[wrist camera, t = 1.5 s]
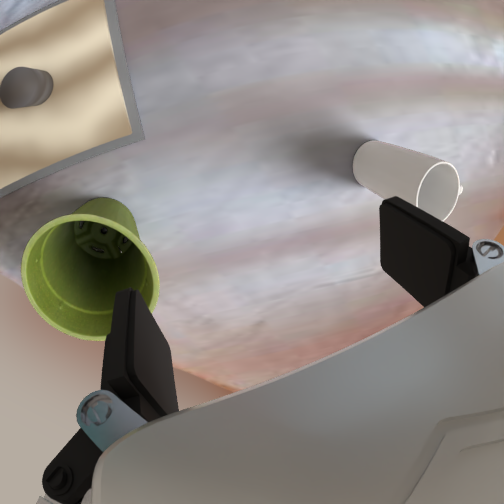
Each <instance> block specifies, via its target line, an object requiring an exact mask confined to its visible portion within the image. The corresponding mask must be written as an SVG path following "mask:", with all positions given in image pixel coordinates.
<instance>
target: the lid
mask: <svg viewBox="0 0 504 504" xmlns="http://www.w3.org/2000/svg"><path fill="white" fill-rule="evenodd" d="M130 134H132V129H131V125H130V121H129V117H128V114H127V110H126V106H125V101H124V97H123V93H122V89H121V85H120V80H119V76H118V71H117V67H116V62H115V57H114V52H113V47H112V42H111V37H110V32H109V26H108V21H107V15H106V9H105V3H104V0H68V1H66V2H64V3H61V4H59V5H57V6H54V7H52V8H50V9H48V10H46V11H44V12H42V13H40V14H38V15H36V16H34V17H32V18H30V19H28V20H26V21H24V22H22V23H20V24H18V25H17V26H15V27H13V28H11V29H10V30H8V31H6V32H4V33H3V34H1V35H0V189H1V188H3V187H5V186H7V185H9V184H11V183H13V182H15V181H17V180H19V179H21V178H23V177H25V176H27V175H30V174H32V173H34V172H36V171H38V170H40V169H42V168H45V167H47V166H49V165H51V164H54V163H56V162H58V161H61V160H63V159H66V158H68V157H70V156H73V155H75V154H78V153H80V152H83V151H85V150H88V149H91V148H93V147H96V146H99V145H101V144H104V143H107V142H110V141H113V140H115V139H118V138H121V137H124V136H127V135H130Z"/></svg>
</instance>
